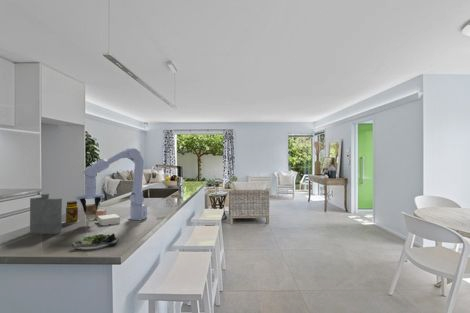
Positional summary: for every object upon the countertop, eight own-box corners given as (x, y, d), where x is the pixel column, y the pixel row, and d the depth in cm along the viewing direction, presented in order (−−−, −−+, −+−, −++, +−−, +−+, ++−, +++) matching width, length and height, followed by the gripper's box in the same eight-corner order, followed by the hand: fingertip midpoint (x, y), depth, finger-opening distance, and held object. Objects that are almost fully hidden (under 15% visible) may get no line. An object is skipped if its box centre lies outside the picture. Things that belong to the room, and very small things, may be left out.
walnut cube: (94, 212, 165) (94, 203, 165) (96, 214, 161) (96, 205, 161) (84, 213, 162) (84, 204, 162) (86, 215, 158) (86, 206, 158)
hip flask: (62, 232, 146) (63, 193, 146) (57, 234, 142) (57, 194, 142) (33, 231, 147) (33, 192, 147) (27, 233, 143) (27, 193, 143)
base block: (115, 220, 173) (115, 213, 173) (119, 223, 165) (119, 217, 165) (97, 222, 167) (97, 215, 167) (101, 226, 159) (101, 219, 159)
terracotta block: (105, 217, 180) (106, 209, 180) (103, 219, 175) (103, 210, 175) (97, 217, 180) (97, 209, 180) (94, 219, 175) (94, 211, 175)
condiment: (73, 223, 163) (73, 202, 163) (59, 223, 164) (59, 202, 164) (81, 220, 170) (81, 200, 170) (68, 220, 171) (68, 200, 171)
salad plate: (77, 256, 114) (77, 245, 114) (62, 246, 126) (62, 235, 126) (123, 245, 128) (123, 234, 128) (105, 236, 140) (105, 227, 140)
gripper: (102, 186, 169) (102, 208, 169) (74, 187, 160) (74, 211, 161) (105, 187, 163) (105, 210, 164) (76, 189, 155) (76, 213, 155)
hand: (90, 211), depth 162 cm, fingers closed on walnut cube, 5 cm apart
